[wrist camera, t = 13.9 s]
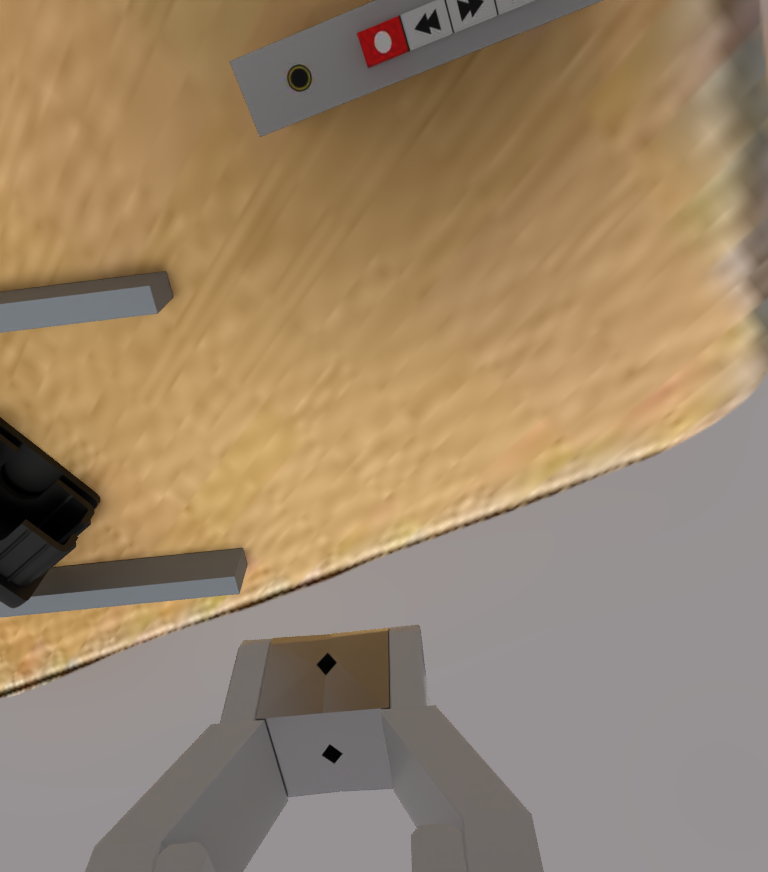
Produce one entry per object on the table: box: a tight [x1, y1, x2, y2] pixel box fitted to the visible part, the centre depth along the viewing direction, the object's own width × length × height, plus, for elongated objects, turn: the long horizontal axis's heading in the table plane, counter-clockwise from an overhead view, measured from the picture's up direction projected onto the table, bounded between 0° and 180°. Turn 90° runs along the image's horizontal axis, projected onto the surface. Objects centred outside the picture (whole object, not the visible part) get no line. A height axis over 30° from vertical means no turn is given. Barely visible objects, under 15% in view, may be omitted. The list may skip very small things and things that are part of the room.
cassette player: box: [230, 0, 603, 137], centre depth 27 cm, size 16×3×10 cm, turn 109°
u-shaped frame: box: [0, 271, 247, 617], centre depth 40 cm, size 21×22×6 cm
